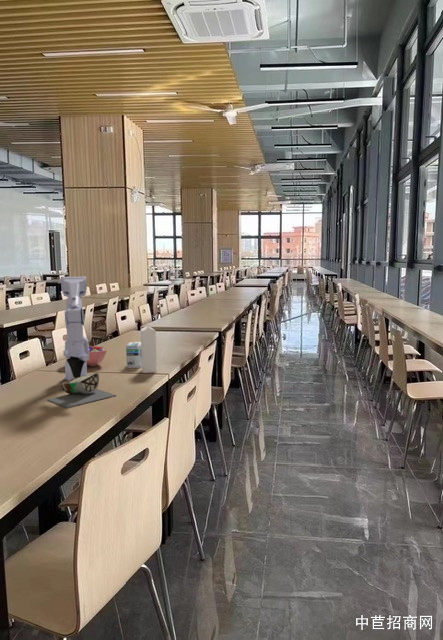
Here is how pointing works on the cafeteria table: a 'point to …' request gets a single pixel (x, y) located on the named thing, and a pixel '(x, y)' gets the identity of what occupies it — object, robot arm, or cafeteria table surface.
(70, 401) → the mat
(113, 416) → the cafeteria table surface
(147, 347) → the milk
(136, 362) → the light bulb box
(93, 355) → the cell model
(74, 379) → the food container
